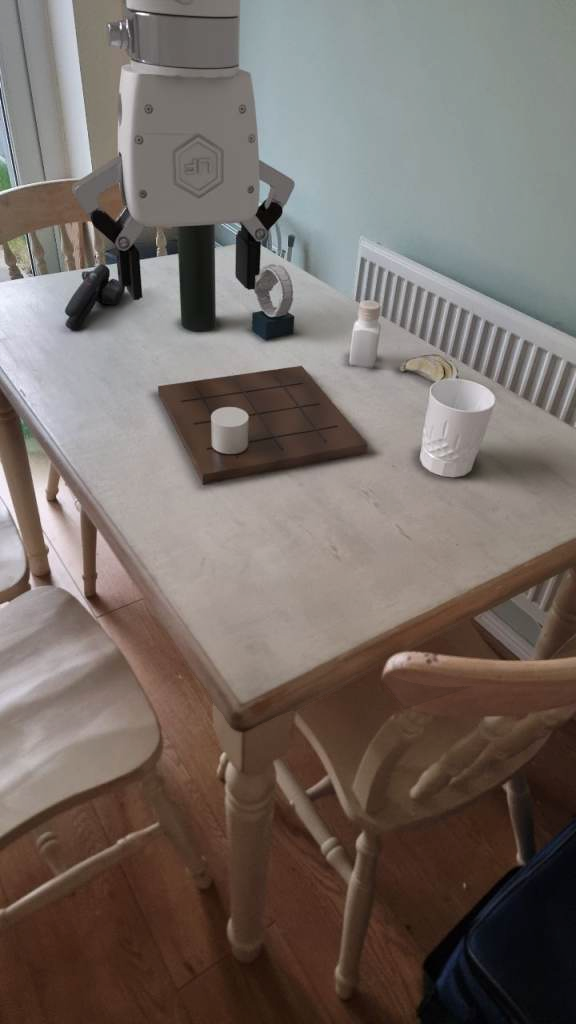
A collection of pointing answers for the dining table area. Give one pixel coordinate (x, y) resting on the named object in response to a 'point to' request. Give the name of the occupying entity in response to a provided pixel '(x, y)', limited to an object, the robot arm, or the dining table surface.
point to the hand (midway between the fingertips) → (190, 288)
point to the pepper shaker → (366, 335)
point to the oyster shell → (431, 367)
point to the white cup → (455, 426)
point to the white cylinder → (229, 430)
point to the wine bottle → (197, 276)
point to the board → (261, 422)
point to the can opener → (92, 295)
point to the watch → (272, 319)
